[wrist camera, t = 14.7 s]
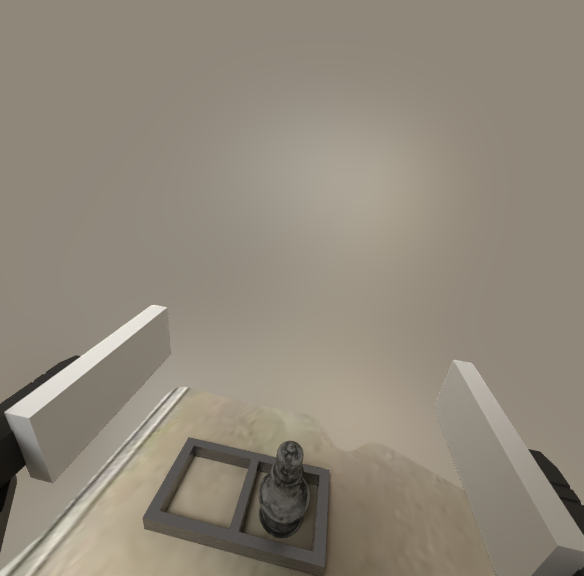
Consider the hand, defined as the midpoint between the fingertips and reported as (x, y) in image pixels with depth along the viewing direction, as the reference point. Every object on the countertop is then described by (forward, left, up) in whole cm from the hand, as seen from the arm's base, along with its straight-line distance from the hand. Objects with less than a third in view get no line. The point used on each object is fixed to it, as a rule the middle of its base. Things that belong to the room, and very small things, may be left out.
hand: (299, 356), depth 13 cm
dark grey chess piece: (0, -10, -30) cm, 32 cm away
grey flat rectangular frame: (+4, -10, -30) cm, 32 cm away
